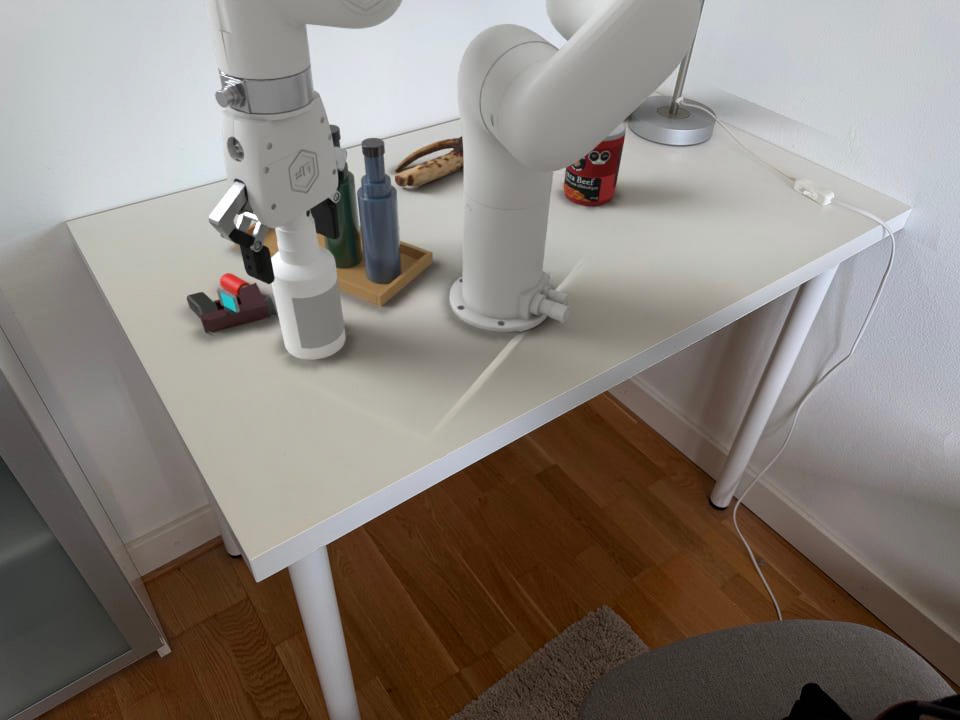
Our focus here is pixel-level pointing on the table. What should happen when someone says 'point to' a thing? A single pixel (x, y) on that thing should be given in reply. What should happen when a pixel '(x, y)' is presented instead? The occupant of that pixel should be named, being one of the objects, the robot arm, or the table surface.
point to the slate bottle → (378, 217)
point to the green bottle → (345, 219)
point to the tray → (355, 277)
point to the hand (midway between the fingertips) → (295, 255)
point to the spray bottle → (307, 291)
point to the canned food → (596, 171)
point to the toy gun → (232, 305)
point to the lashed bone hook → (431, 163)
